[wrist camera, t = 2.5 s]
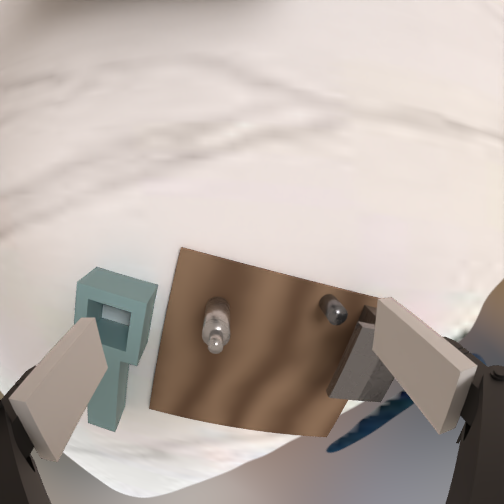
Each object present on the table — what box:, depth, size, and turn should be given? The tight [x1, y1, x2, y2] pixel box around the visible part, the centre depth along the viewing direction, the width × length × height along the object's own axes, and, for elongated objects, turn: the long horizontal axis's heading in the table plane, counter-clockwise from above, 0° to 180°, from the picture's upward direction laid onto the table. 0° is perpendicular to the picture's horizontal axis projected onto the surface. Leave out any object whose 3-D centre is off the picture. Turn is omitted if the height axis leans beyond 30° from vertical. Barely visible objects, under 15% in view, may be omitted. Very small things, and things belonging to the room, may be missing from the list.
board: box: [149, 247, 381, 437], centre depth 35 cm, size 24×21×1 cm
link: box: [74, 267, 158, 432], centre depth 31 cm, size 18×7×5 cm, turn 164°
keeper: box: [319, 294, 395, 402], centre depth 31 cm, size 8×8×7 cm
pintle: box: [202, 297, 230, 354], centre depth 29 cm, size 2×2×9 cm
